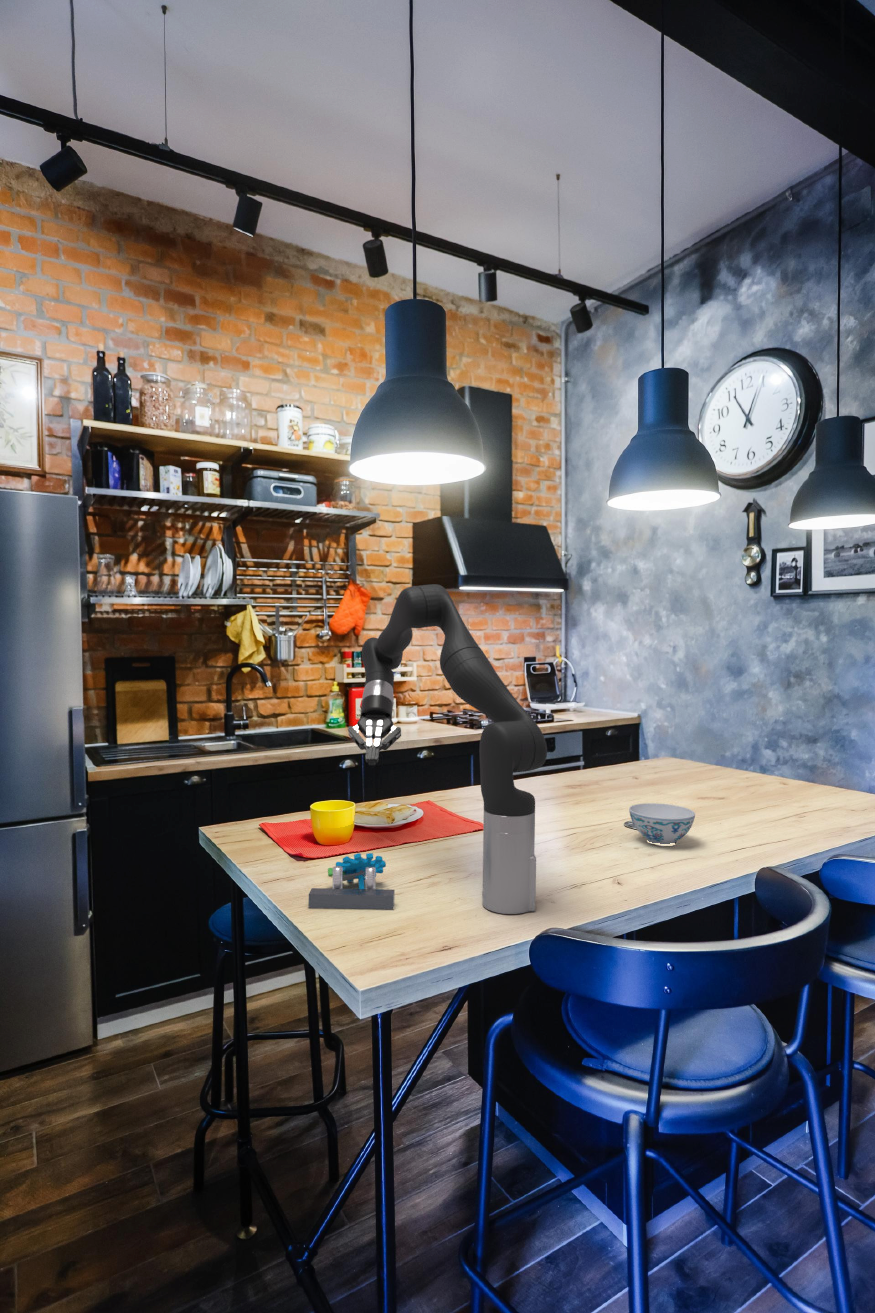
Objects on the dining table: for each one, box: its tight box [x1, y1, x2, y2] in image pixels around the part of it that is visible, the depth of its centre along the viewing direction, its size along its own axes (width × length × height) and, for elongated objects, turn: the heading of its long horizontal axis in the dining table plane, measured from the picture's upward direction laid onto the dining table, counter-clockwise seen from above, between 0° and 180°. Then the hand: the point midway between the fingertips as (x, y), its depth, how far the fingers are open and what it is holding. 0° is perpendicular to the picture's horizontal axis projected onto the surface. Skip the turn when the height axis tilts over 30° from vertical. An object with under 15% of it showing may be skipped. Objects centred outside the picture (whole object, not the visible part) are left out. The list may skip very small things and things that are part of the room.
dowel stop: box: [308, 865, 396, 911], centre depth 129 cm, size 15×5×6 cm, turn 89°
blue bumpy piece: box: [327, 852, 387, 889], centre depth 137 cm, size 11×6×10 cm
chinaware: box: [628, 802, 696, 844], centre depth 171 cm, size 15×15×8 cm
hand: (371, 763), depth 161 cm, fingers closed
